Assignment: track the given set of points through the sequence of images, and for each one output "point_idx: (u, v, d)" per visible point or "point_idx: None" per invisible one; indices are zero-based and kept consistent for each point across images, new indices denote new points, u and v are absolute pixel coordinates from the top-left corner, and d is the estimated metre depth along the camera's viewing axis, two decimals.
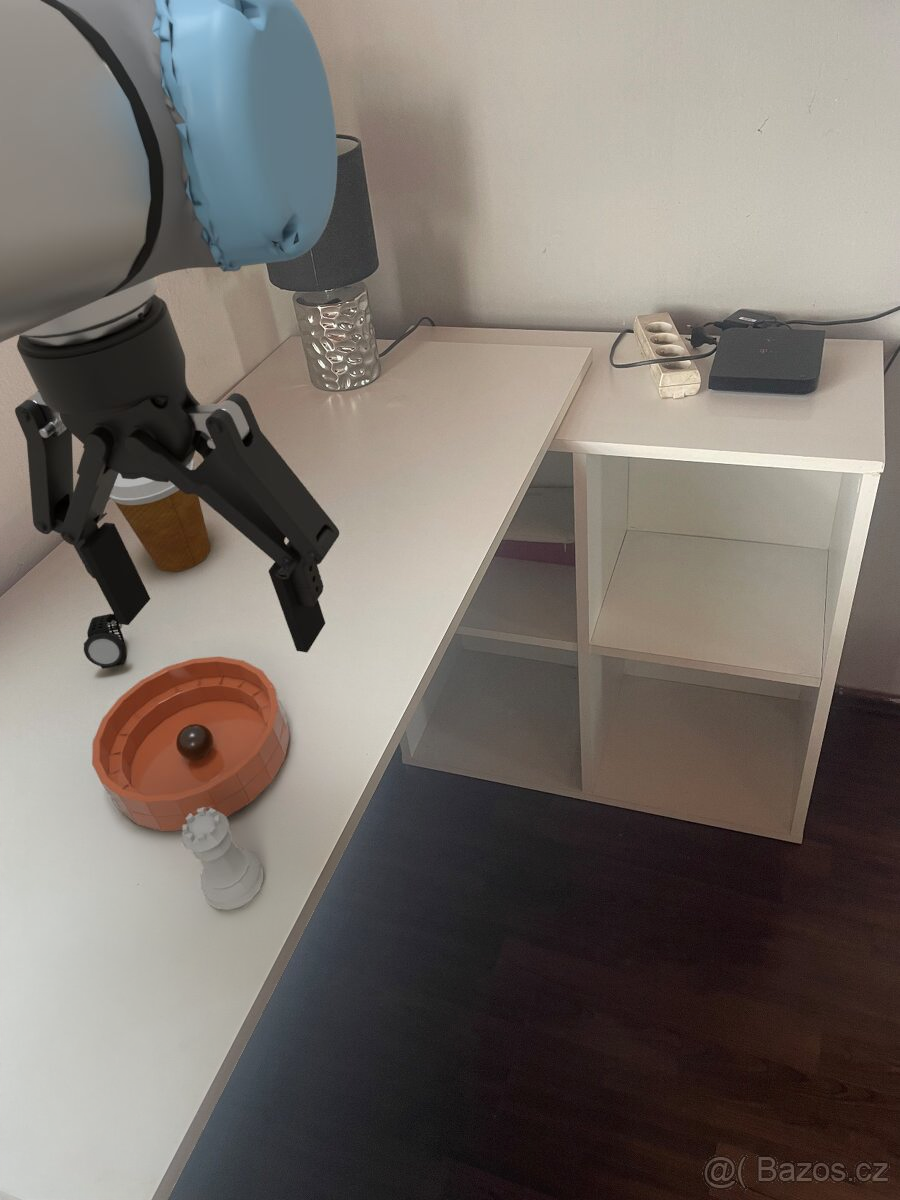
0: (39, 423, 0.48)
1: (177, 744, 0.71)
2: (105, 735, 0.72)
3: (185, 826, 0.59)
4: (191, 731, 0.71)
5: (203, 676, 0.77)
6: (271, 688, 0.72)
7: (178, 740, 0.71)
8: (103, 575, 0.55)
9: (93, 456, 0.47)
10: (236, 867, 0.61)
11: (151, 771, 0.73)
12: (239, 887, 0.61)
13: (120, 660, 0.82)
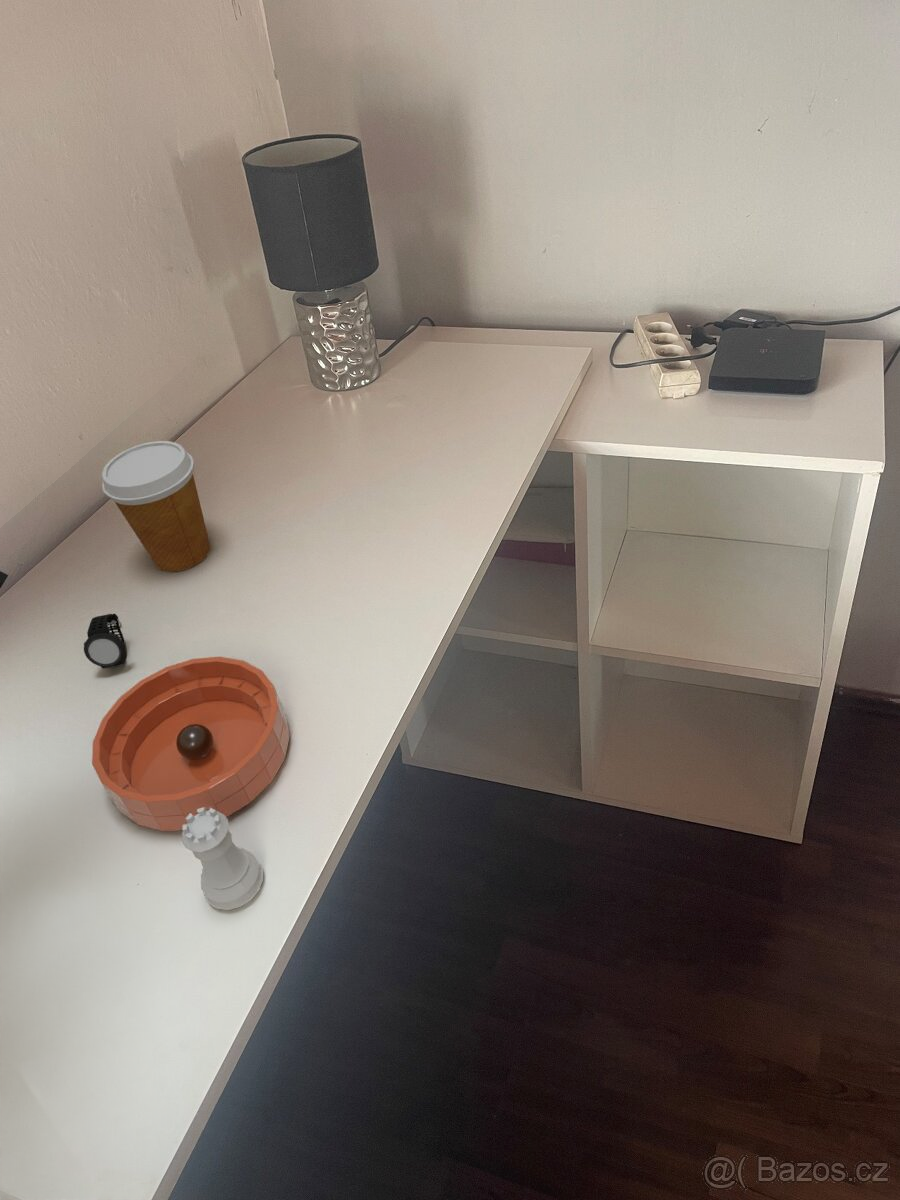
0: None
1: (177, 744, 0.71)
2: (105, 735, 0.72)
3: (185, 826, 0.59)
4: (191, 731, 0.71)
5: (203, 676, 0.77)
6: (271, 688, 0.72)
7: (178, 740, 0.71)
8: None
9: None
10: (236, 867, 0.61)
11: (151, 771, 0.73)
12: (239, 887, 0.61)
13: (120, 660, 0.82)
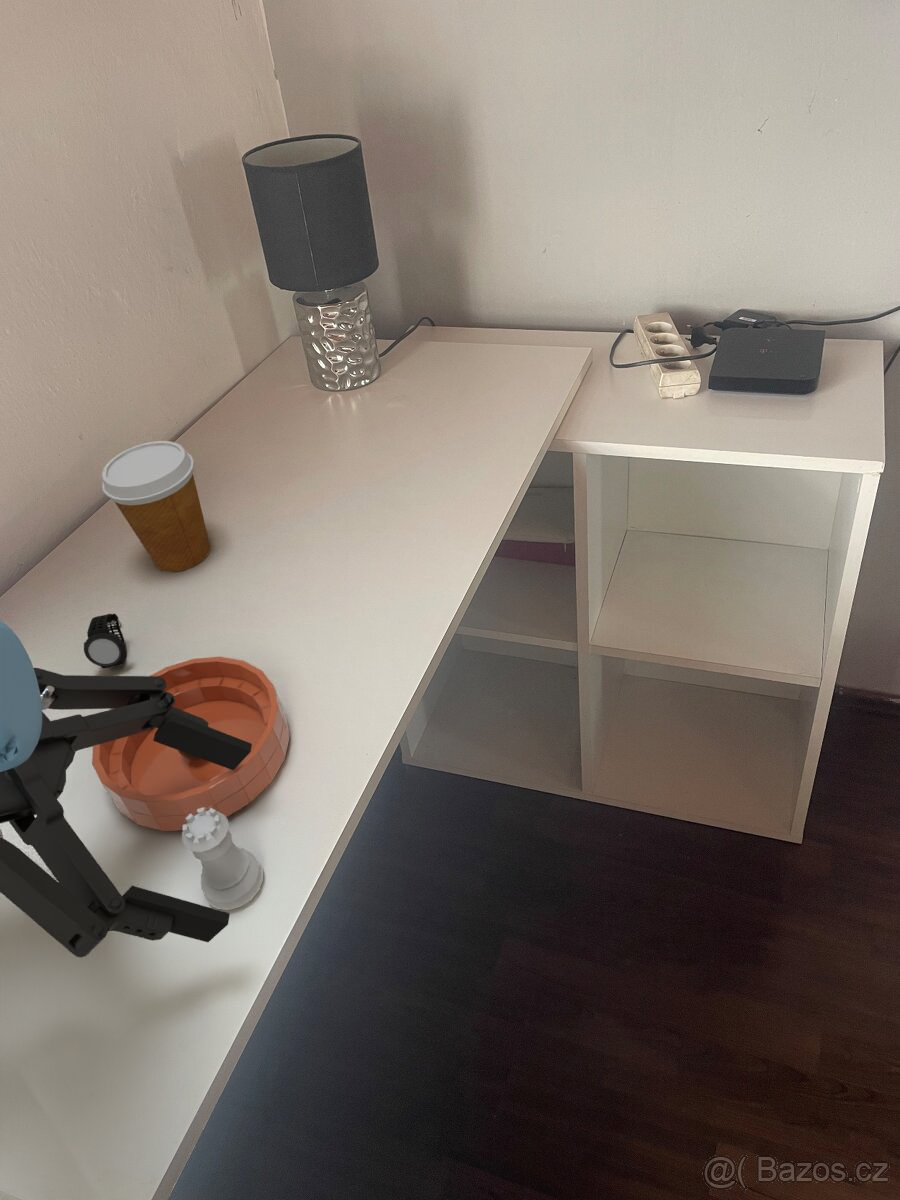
0: None
1: None
2: None
3: (185, 826, 0.59)
4: None
5: (203, 676, 0.77)
6: (271, 688, 0.72)
7: None
8: (165, 895, 0.53)
9: (33, 783, 0.52)
10: (236, 867, 0.61)
11: (151, 771, 0.73)
12: (239, 887, 0.61)
13: (120, 660, 0.82)
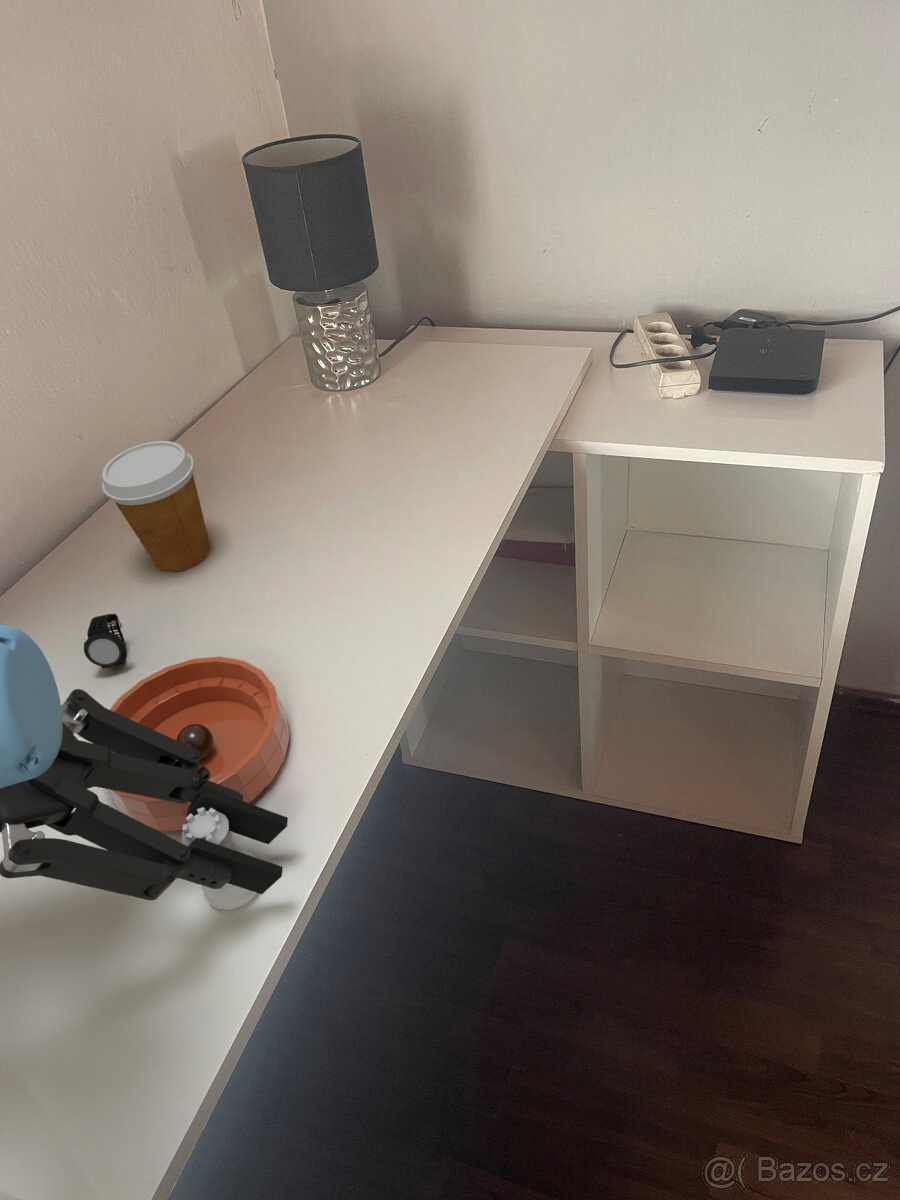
0: (30, 840, 0.50)
1: None
2: None
3: (185, 826, 0.59)
4: (191, 731, 0.71)
5: (203, 676, 0.77)
6: (271, 688, 0.72)
7: (178, 740, 0.71)
8: (225, 847, 0.58)
9: (60, 784, 0.53)
10: None
11: None
12: (239, 887, 0.61)
13: (120, 660, 0.82)
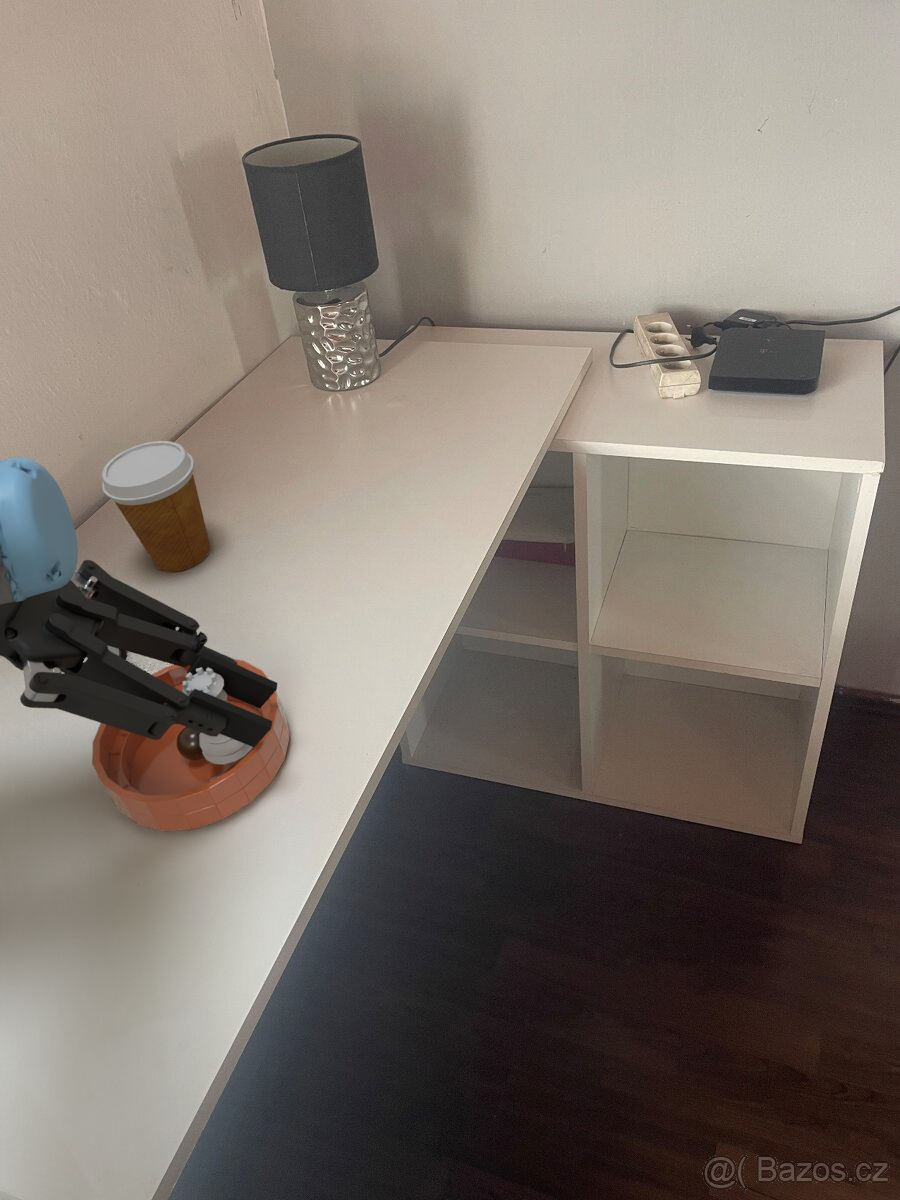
0: (48, 674, 0.57)
1: (177, 744, 0.71)
2: (105, 735, 0.72)
3: (185, 682, 0.66)
4: (192, 731, 0.71)
5: None
6: None
7: (179, 740, 0.71)
8: (221, 700, 0.65)
9: (74, 631, 0.60)
10: None
11: (151, 771, 0.73)
12: (233, 742, 0.68)
13: None
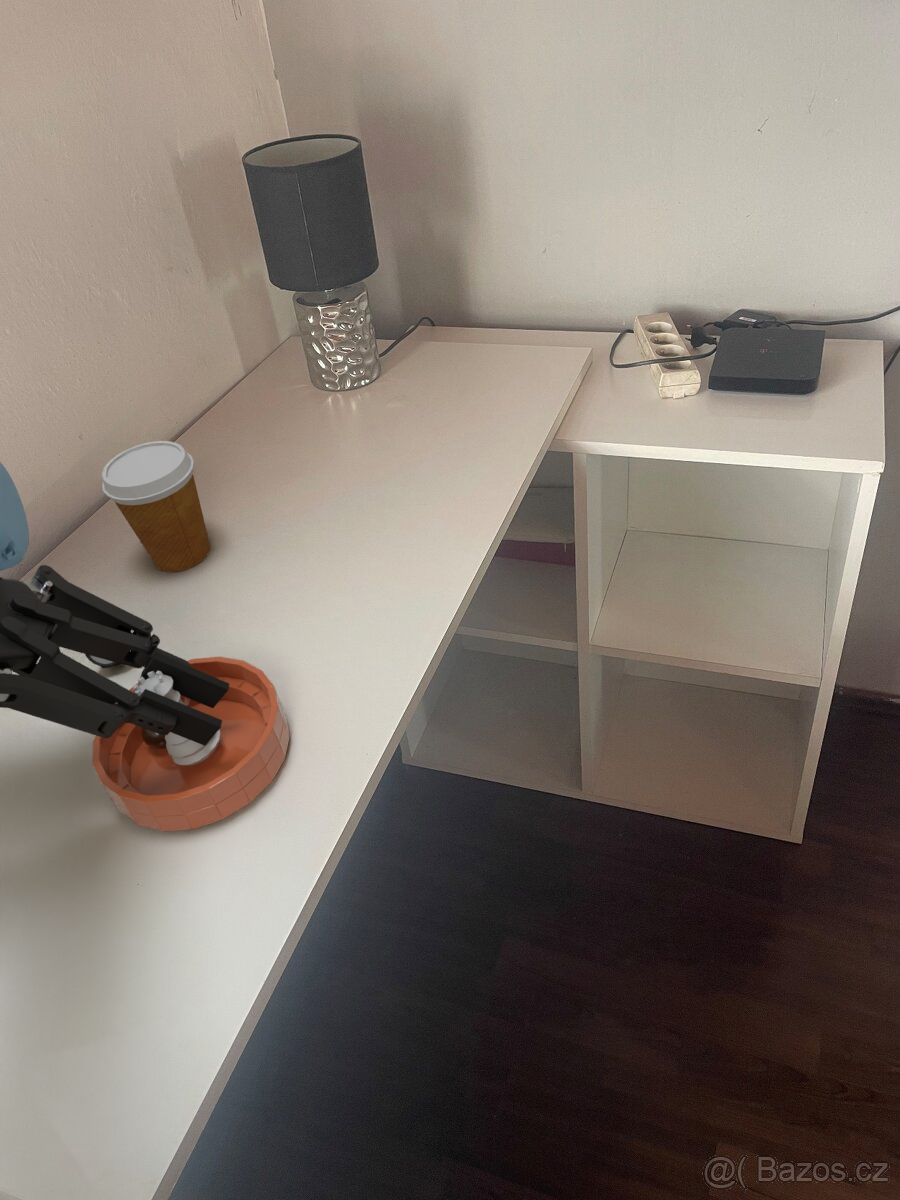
0: None
1: None
2: None
3: (136, 686, 0.68)
4: None
5: None
6: (271, 688, 0.72)
7: None
8: (171, 700, 0.67)
9: (26, 634, 0.62)
10: None
11: (151, 771, 0.73)
12: (193, 742, 0.70)
13: None
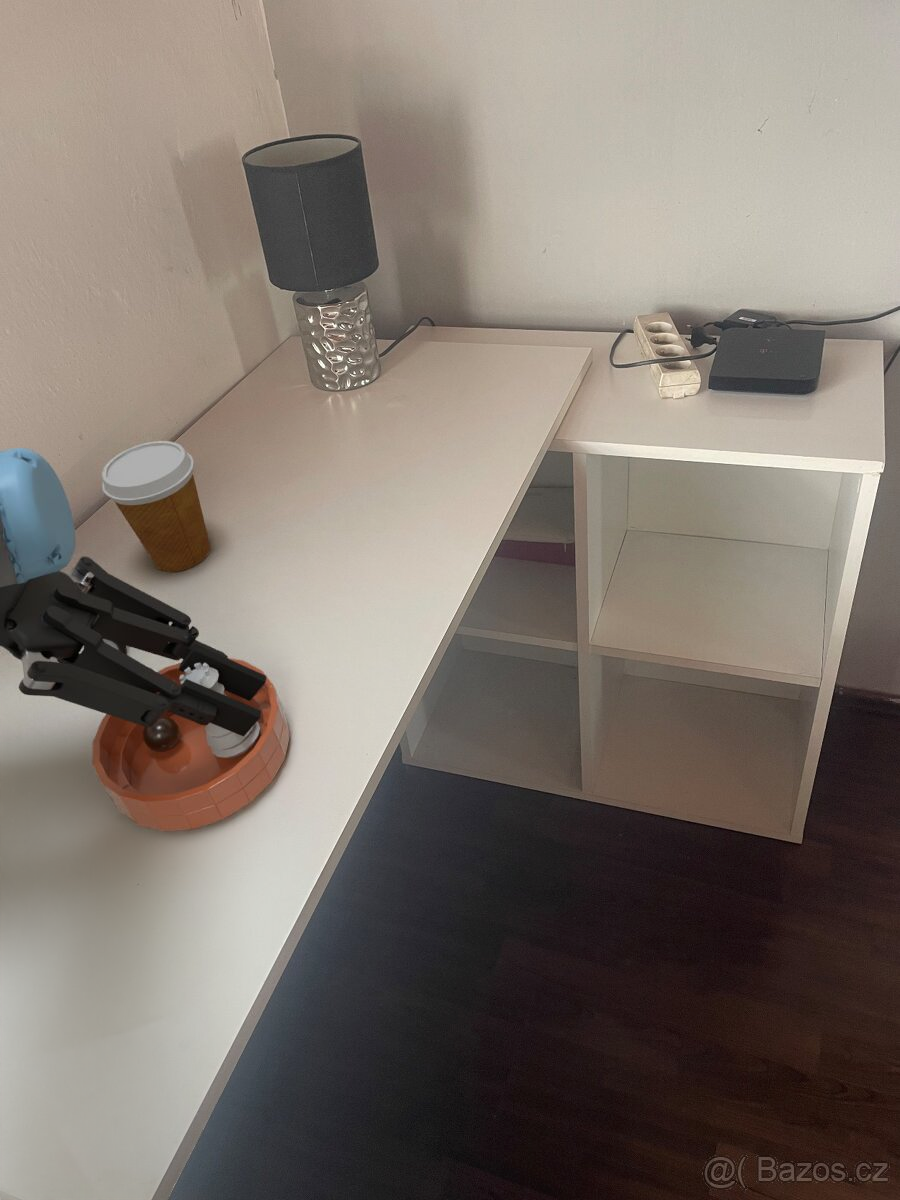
0: (46, 663, 0.60)
1: None
2: (105, 735, 0.72)
3: (182, 676, 0.69)
4: None
5: None
6: (271, 688, 0.72)
7: None
8: (211, 690, 0.68)
9: (70, 623, 0.63)
10: None
11: (151, 771, 0.73)
12: (232, 736, 0.71)
13: None
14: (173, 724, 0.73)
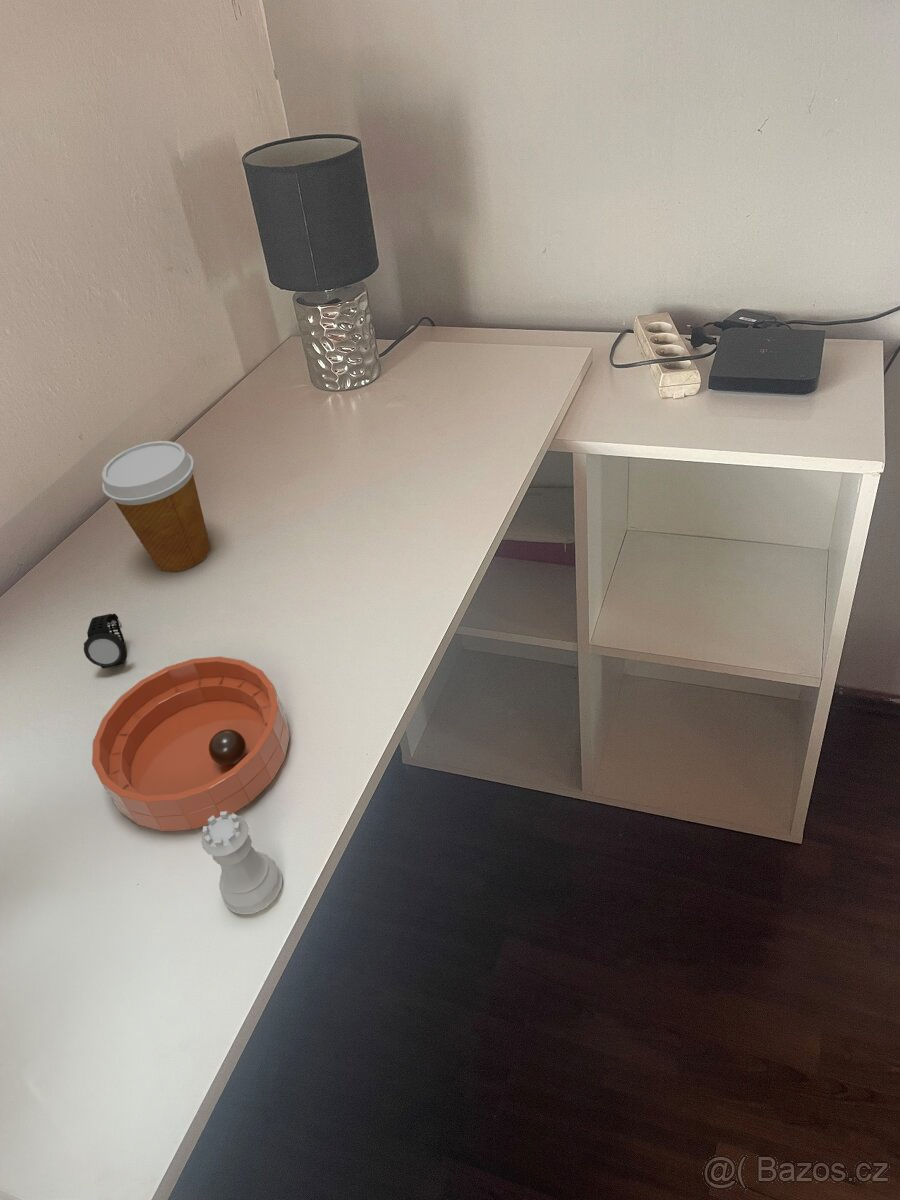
0: None
1: (234, 759, 0.70)
2: (105, 735, 0.72)
3: (205, 828, 0.58)
4: None
5: (203, 676, 0.77)
6: (271, 688, 0.72)
7: (238, 759, 0.71)
8: None
9: None
10: (253, 874, 0.61)
11: (151, 771, 0.73)
12: (254, 894, 0.61)
13: (120, 660, 0.82)
14: None
